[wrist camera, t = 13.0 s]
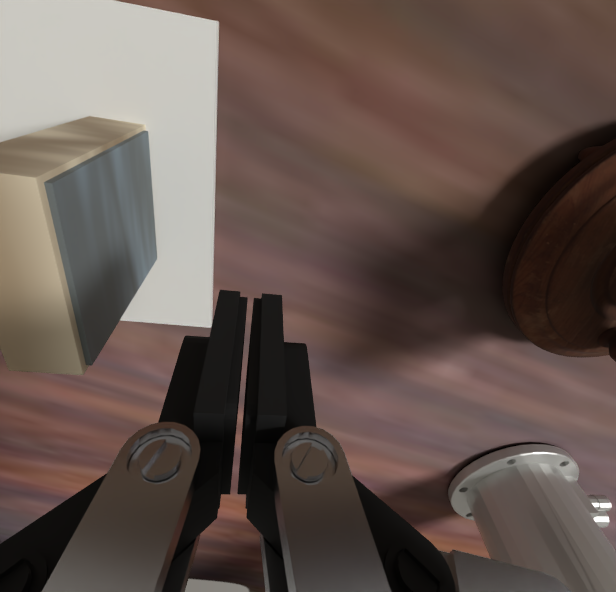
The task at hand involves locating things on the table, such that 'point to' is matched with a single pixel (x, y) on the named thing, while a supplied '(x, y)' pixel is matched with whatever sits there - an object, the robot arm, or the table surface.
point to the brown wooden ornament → (569, 262)
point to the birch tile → (72, 240)
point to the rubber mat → (129, 120)
